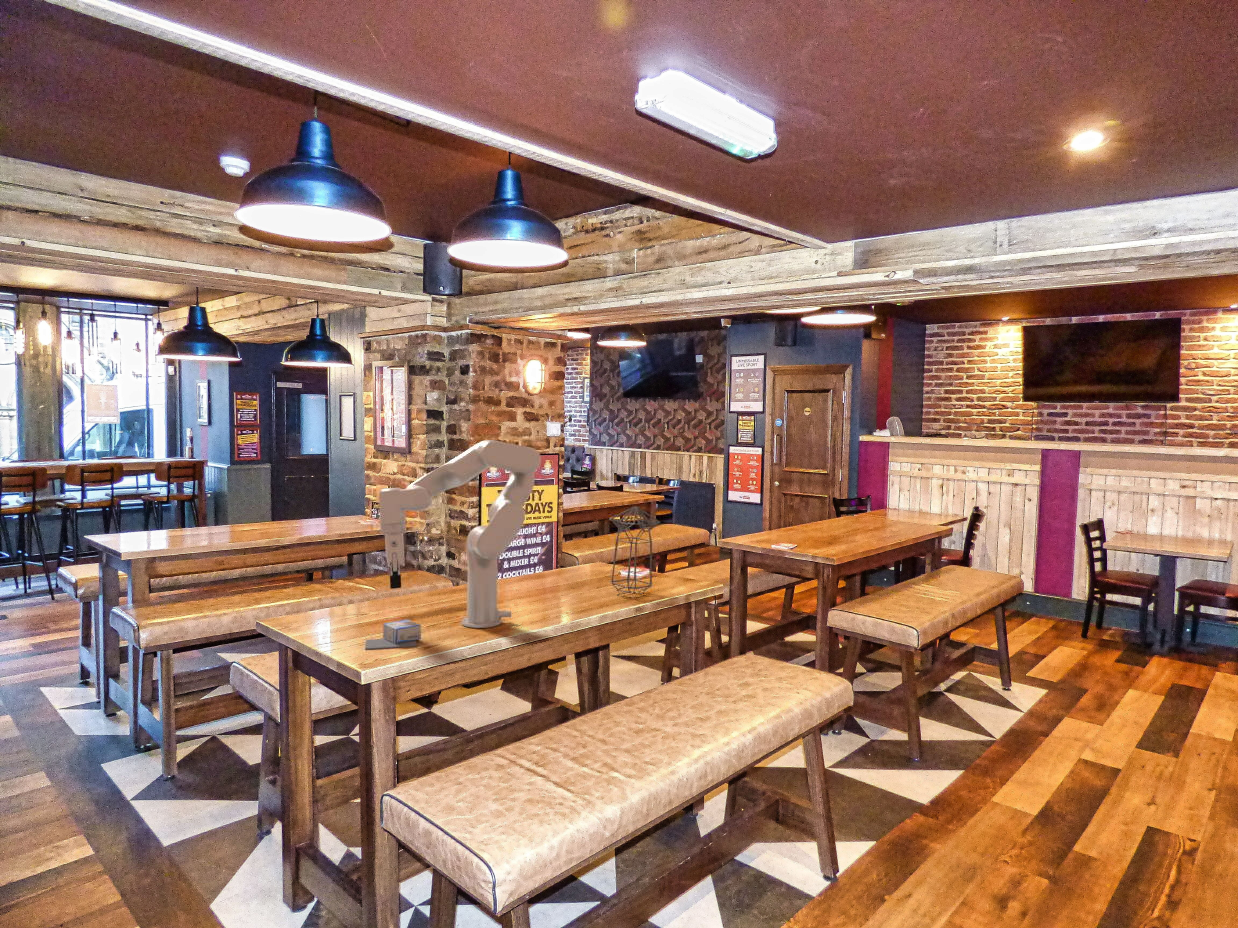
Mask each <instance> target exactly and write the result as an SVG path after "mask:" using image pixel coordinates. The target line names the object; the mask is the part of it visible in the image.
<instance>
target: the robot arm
mask: <svg viewBox="0 0 1238 928" xmlns="http://www.w3.org/2000/svg"><path fill="white" fill-rule="evenodd" d="M541 463H542V459H541V454H540V453H539V452H538V451H537V450H536V448H533V447H530V446H524V445H519V444H513V443H508V442H504V441H499V440H494V439H485V440H481V441H480V442H478V443H476V444H474V445H473V446H471V447H470V448H468V449H467V450H465V451H464V452H463V453H461V454H459V455H458V456H456V457H454V458H452V459H451V460H449V461H448V462H446V463H444V464H443V465H441V466H439V467H438V468H436V469H434V470H432V471H430V472H429V473H426V474H425V475H423V476H421V477H420V478H419V479H417V480H416V481H413V482H412V483H411V484H409V485H407V487H406V488H404V489H403V488H399V487H387V488H383V489H380V490H379V493H378V501H379V502H378V503H379V504H378V505H379V506H378V507H379V526H380V535H383V536H384V542H385V543H384V546H385V555H386V556H385V557H386V561H387V567H389V568H390V570H389V572H390V574H389V583H390V584H389V588H390V589H391V590H392V589H393V590H395V589H396V590H397V589H402V576H401V575H402V574H401V571H400V569H401V566H402V567H404V566H405V546H404V545H405V541H404V534H407V517H406V516H407V514H406V513H407V512H408V511H410V512H423V511H426V510H427V509H429V507H431V505H432V502H433V498H434V497H436V496H437V495H439V494H441V493H442V492H445V491H449V490H450V489H453V488H458V487H460V486H462V485H464V484H465V485H466V483H468V482H469V481H471V480H473V479H474V478H475V477H477V476H479V475H480V474H482V473H483V472H485V471H486V470H488V469H489V468H494V469H498V470H499V469H500V470H505V471H509V477H508V480H507V482H506V484H505V485H504V487H503V488H502V490H501V492H500V493H499V495H498V496H497V498H495V500H494V501H493V502H492V504H491V506H490V507H489V509H488V511H487V517H488V519H489V522H488V524H487V525H477V526H475V527H474V528H472V529H471V530H470V531H469V532H468V535H467V537H466V556H467V582H466V583H467V586H466V587H467V589H466V590H467V592H466V594H467V595H466V598H467V599H466V617H464V618H462V619H461V625H463V626H464V627H466V628H475V629H485V628H487V629H488V628H494V627H498V626H499V625H501V624H502V618H512V611H511V610H508V611H507V610H500V609H499V608H498V573H499V572H498V571H499V570H498V566H499V565H498V564H499V563H498V558H500V557H501V556H502V555H503V554H504V553H505V552H506V550H507V549H508V548H509V546H510V545H511V543H512V542H513V540H514V539H515V538H516V536H517V535H518V533H519V531H520V530H521V528H522V527H523V525H524V523H525V520H526V512H525V508H524V505H525V504H526V502H527V501H528V498H529V497H530V495H531V494H532V492H533V489H534V485H535V473H536V471H537V470H538V469H539V468H540V467H541ZM406 511H407V512H406Z"/></svg>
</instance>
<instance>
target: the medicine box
mask: <svg viewBox="0 0 1238 928" xmlns="http://www.w3.org/2000/svg"><path fill="white" fill-rule="evenodd" d="M382 624H383V627H382V629H383V631H382V639H387V640H389V641H391V642H393V643H396V644H398V643H403V642H408V641H413V640H416V641H417V640H418V641H419V640H422V625H421V624H420V623H417V622H414V621H412V620H409V619H401V620H397V621H391V622H385V623H382Z"/></svg>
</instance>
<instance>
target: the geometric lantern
mask: <svg viewBox="0 0 1238 928" xmlns="http://www.w3.org/2000/svg"><path fill="white" fill-rule="evenodd" d="M633 513H634V514H633ZM622 515H624V516H623V517H622V518H620V519H619V518H618V517H619V516H622ZM633 515H634V516H633ZM647 516H648V517H650V518H651V519H653V520H650V519H649V518H648V517H647ZM608 520H609V521H612V523H613V524H614V525H615V527H617V535H616V539H615V547H614V557H613V566H612V573H611V581H610V583H611V584H612V586H613V587H614V588H615V589H616V592H617V591H618V592H622V593H623V592H627V590H623V589H627V588H628V592H627V594H630V593H631V592H633V593H634V594H636V592H638V593H642V592H641V591H644V592H646V590H648V589H649V588H651V587H653V577H652V576H653V575H652V574H653V573H652V571H653V569H652V567H653V566H652V565H653V564H652V563H653V562H652V561H653V560H652V557H653V555H652V554H653V540H652V536H651V530H653V529H654V528H656V527H657V526H658V525H660V523H661V521H660V520H658V519H656V518H655V517H654V516H653V515H651V514H649V513H648V512H647V511H645V510H643V509H642V508H641V507H639V506H632V507H630V508H628V509H626V510H624V511H622V512H620V513H619V514H616V515H615V516H612V517H611V518H609V519H608ZM632 520H633V522H632ZM636 520H637V523H636ZM627 521H628V522H627ZM621 524H622V525H621ZM634 525H635V526H639V527H640V531H639V532H638V534H637V535H636V536H635V537H634V536H633V534H632V533H631V531H630V528H631V527H633V526H634ZM645 529H646V530H645ZM626 530H627V531H628V532H629V534H630V536H629V535H628V533H627V531H626ZM621 531H623V532H624V533H625V535H626V537H620V533H621ZM647 532H648V537H649V538H648V539H644V538H641V537H642V535H643V534H644V533H647ZM627 539H628V541H625V540H627ZM634 540H635V542H633V541H634ZM639 540H641V541H643V542H638V541H639ZM619 542H622V543H626V544H627V543H628V544H630V545H629V546H630V548H629V549H630V551H629V559H628V568H627V570H628V571H627V577H626V578H624V579H617V580H614V577H615V566H616V558H617V552H618V544H619ZM639 544H649V561H650V562H649V567H650V568H649V582H647V581H642V580H639V579H637V548H638V545H639ZM633 545H634V568H633V570H634V571H633V578H630V577H631V566H632V565H631V564H632V563H631V562H632V549H633ZM624 581H626V583H627V586H625V585H623V584H622V585H621V584H619V583H618V582H624ZM630 581H632V582H631V584H630ZM637 582H638V583H643V584H646V585H642V586H637ZM633 584H634V586H633ZM617 586H618V587H620V588H617ZM643 588H644V589H643ZM630 589H631V591H630ZM639 589H641V590H639ZM632 590H633V591H632ZM635 590H638V591H635Z"/></svg>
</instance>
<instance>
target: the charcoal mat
mask: <svg viewBox="0 0 1238 928" xmlns="http://www.w3.org/2000/svg"><path fill="white" fill-rule="evenodd" d="M403 647H404V648H415V647H418V644H417V640H413V641H408V642H403V643H398V644H396V643H393V642H391V641H389V640H387V639H384V638H374V639H373V638H371V639H365V647H364V650H366V651H368V650H370V651H371V650H384V649H398V648H399V649H401V648H403Z"/></svg>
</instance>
